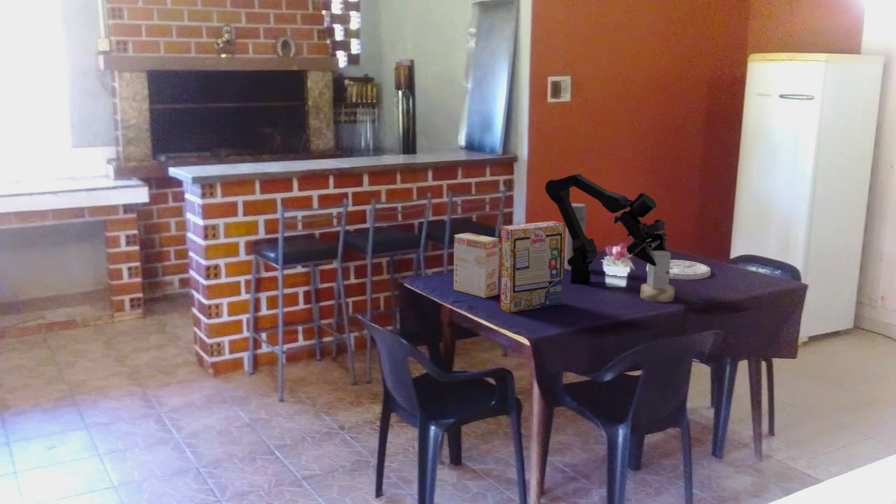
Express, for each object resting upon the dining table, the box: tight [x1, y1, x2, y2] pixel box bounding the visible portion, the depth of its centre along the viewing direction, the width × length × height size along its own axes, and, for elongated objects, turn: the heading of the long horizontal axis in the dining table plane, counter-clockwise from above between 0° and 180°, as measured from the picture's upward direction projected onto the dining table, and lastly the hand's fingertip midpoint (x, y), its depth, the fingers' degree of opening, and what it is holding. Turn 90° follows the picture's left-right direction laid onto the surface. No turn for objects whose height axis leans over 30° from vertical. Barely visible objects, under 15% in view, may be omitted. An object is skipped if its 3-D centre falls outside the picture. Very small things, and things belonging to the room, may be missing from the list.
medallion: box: [646, 259, 712, 281], centre depth 309 cm, size 24×27×2 cm
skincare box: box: [646, 250, 672, 289], centre depth 270 cm, size 6×4×12 cm
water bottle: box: [564, 203, 587, 272], centre depth 307 cm, size 9×8×25 cm
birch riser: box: [639, 282, 675, 303], centre depth 272 cm, size 11×11×4 cm
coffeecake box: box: [453, 232, 500, 299], centre depth 275 cm, size 15×7×20 cm, turn 44°
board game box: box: [499, 220, 565, 314], centre depth 257 cm, size 20×6×27 cm, turn 117°
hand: (662, 263), depth 269 cm, fingers open, 9 cm apart
